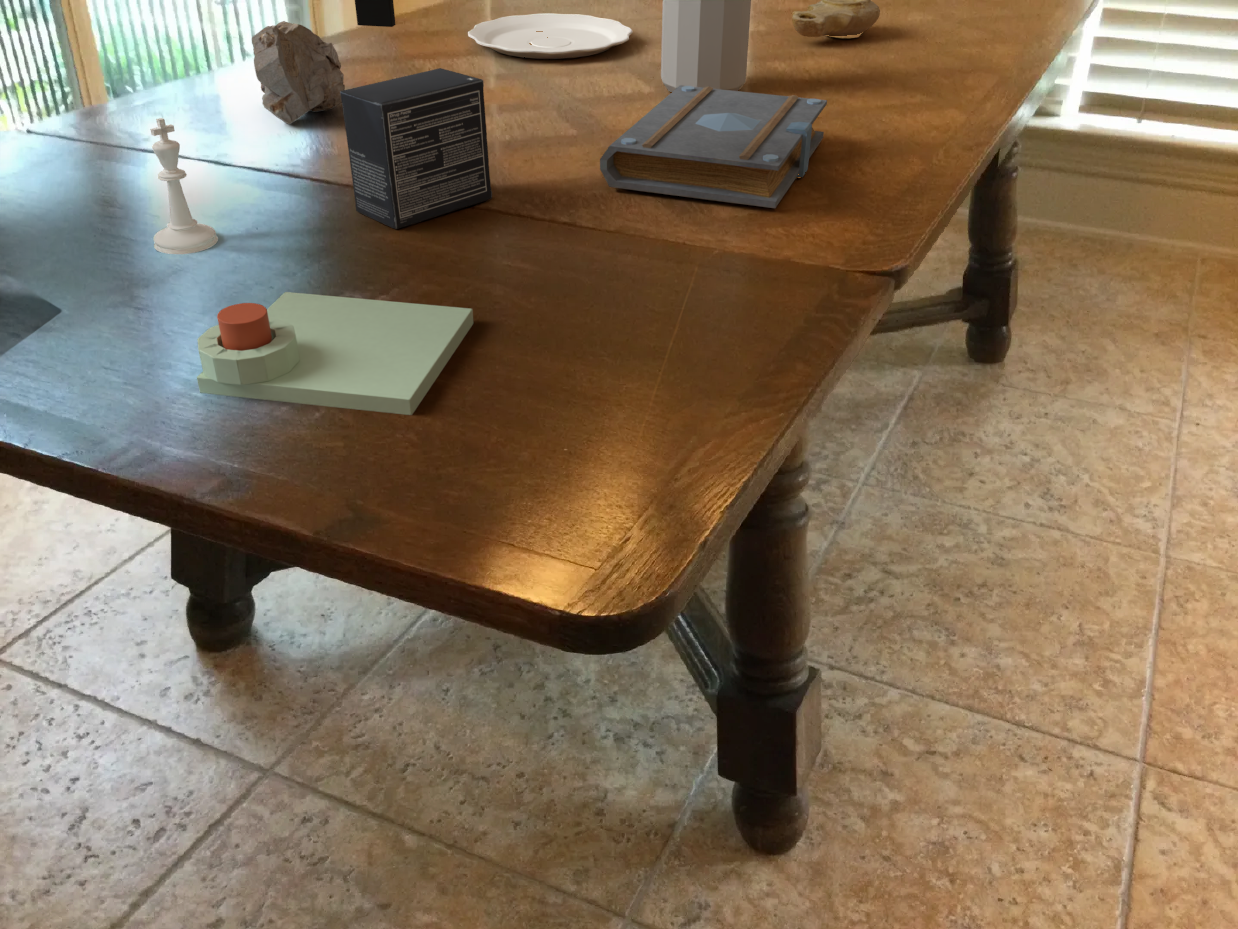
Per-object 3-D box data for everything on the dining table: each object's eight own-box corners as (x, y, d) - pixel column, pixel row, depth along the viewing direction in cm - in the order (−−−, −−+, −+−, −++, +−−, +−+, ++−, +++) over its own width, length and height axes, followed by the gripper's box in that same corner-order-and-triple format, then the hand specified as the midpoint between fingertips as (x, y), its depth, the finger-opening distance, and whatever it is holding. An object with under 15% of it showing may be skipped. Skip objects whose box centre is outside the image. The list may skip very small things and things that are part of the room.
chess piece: (142, 243, 93) (113, 119, 88) (197, 226, 96) (173, 105, 91) (173, 260, 90) (146, 132, 85) (229, 242, 93) (206, 118, 88)
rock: (357, 133, 127) (329, 49, 127) (356, 86, 115) (325, -7, 116) (275, 153, 124) (247, 66, 125) (265, 106, 113) (234, 12, 114)
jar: (725, 74, 138) (734, -92, 128) (759, 96, 130) (771, -79, 120) (648, 81, 135) (651, -88, 125) (677, 104, 127) (683, -75, 117)
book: (670, 124, 121) (671, 75, 118) (827, 142, 116) (832, 91, 113) (600, 190, 104) (599, 134, 101) (779, 213, 100) (784, 156, 97)
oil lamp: (785, 48, 149) (789, 7, 146) (802, 24, 160) (806, -15, 158) (869, 54, 146) (874, 12, 144) (880, 29, 158) (885, -10, 155)
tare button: (214, 350, 72) (208, 321, 71) (236, 329, 74) (230, 300, 73) (259, 355, 72) (253, 325, 70) (280, 333, 74) (275, 304, 73)
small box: (449, 181, 106) (440, 64, 100) (495, 200, 102) (488, 78, 96) (351, 210, 100) (336, 86, 94) (396, 231, 96) (382, 103, 90)
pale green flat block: (189, 396, 72) (180, 354, 71) (281, 306, 84) (275, 267, 82) (409, 419, 70) (404, 376, 69) (473, 323, 81) (471, 284, 80)
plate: (490, 23, 160) (490, 10, 159) (640, 29, 157) (640, 16, 156) (451, 60, 142) (450, 46, 141) (619, 68, 140) (619, 53, 139)
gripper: (389, -314, 91) (414, -26, 103) (245, -322, 70) (297, 40, 82) (481, -314, 90) (496, -23, 101) (362, -322, 69) (398, 45, 81)
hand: (407, 6), depth 92 cm, fingers open, 13 cm apart
